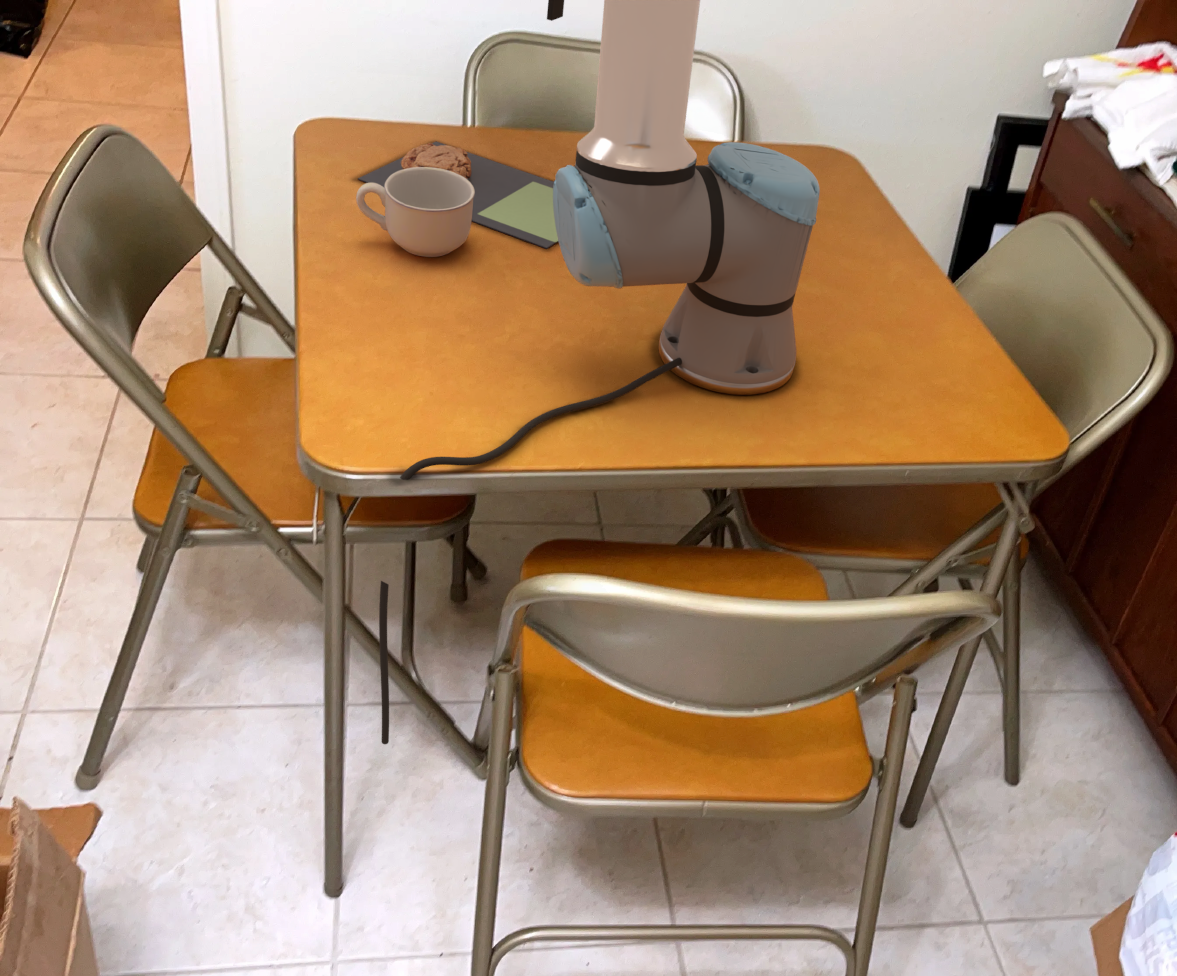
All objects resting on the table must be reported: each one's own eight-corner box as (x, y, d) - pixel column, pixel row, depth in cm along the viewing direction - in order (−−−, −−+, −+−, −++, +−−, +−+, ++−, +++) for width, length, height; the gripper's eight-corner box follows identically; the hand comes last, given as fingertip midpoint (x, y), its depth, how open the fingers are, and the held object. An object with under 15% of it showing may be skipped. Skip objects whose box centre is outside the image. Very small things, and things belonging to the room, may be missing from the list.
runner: (546, 249, 142) (547, 247, 142) (357, 179, 152) (357, 178, 152) (614, 204, 155) (614, 202, 155) (436, 142, 164) (436, 141, 164)
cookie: (426, 194, 150) (427, 173, 148) (388, 164, 156) (388, 143, 154) (490, 183, 155) (491, 162, 153) (450, 154, 161) (451, 133, 159)
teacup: (479, 233, 143) (482, 174, 138) (462, 273, 135) (465, 210, 130) (371, 217, 143) (370, 157, 138) (348, 255, 135) (346, 193, 130)
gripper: (628, -162, 133) (606, 23, 146) (457, -202, 141) (451, -24, 155) (596, -156, 128) (576, 35, 141) (421, -198, 136) (417, -14, 149)
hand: (511, 5), depth 148 cm, fingers open, 13 cm apart
